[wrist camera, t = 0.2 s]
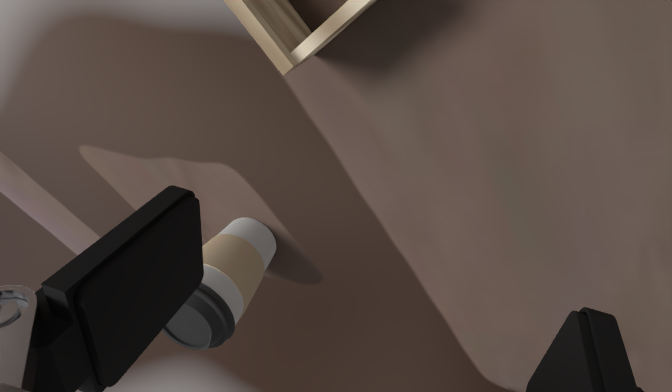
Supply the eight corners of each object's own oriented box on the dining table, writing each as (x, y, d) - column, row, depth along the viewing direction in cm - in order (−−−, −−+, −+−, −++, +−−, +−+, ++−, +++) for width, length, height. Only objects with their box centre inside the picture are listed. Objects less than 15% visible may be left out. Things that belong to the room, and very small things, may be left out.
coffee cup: (211, 242, 57) (132, 327, 45) (232, 196, 52) (151, 277, 40) (268, 280, 57) (206, 374, 45) (296, 237, 52) (234, 331, 40)
